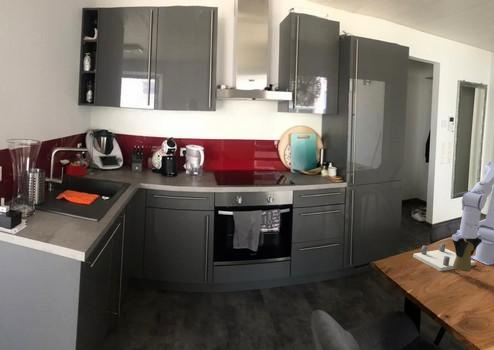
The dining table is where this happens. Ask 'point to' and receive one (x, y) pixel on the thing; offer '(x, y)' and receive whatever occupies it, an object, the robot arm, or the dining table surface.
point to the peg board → (438, 258)
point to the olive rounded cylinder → (464, 259)
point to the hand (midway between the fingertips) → (464, 255)
